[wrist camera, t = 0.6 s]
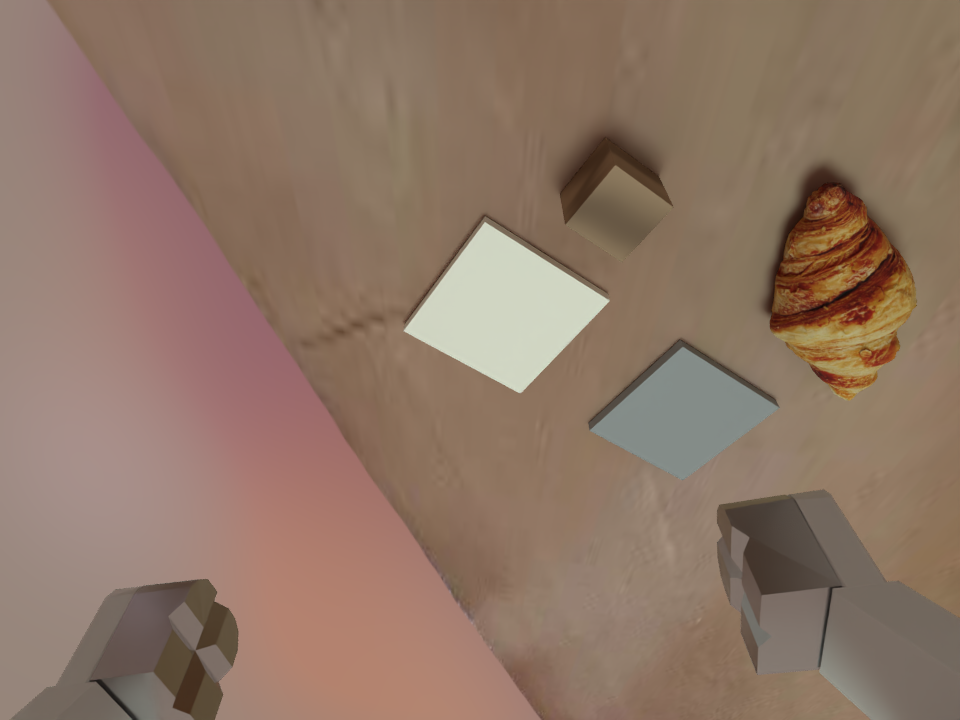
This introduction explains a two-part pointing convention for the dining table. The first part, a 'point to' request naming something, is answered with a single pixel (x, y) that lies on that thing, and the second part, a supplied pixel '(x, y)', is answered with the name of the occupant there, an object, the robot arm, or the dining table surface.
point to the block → (614, 201)
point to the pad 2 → (682, 412)
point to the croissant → (841, 292)
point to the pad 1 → (504, 307)
